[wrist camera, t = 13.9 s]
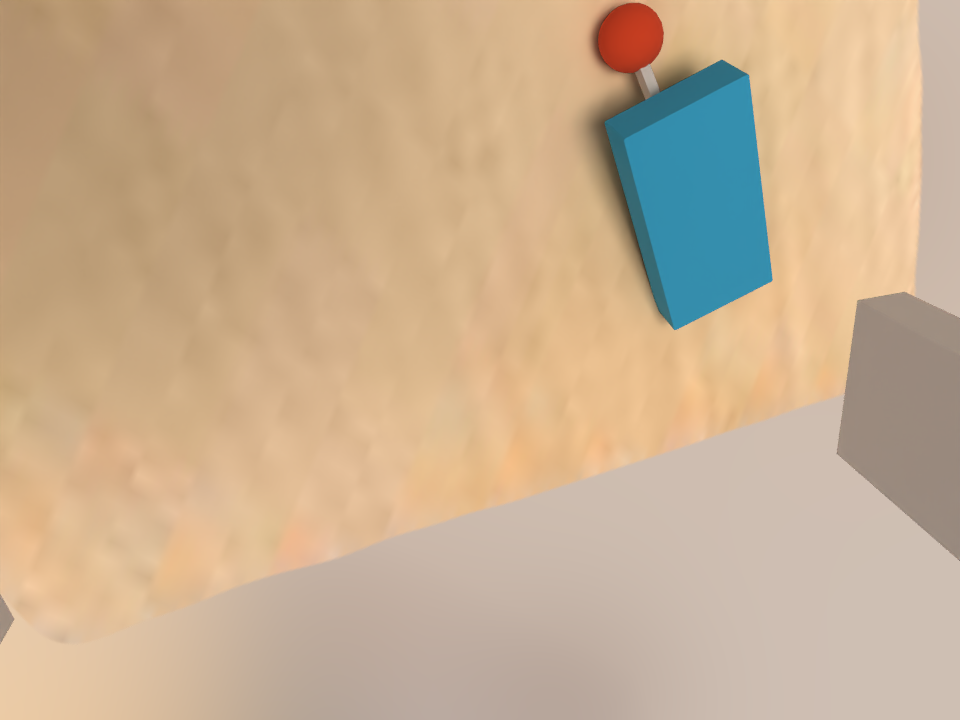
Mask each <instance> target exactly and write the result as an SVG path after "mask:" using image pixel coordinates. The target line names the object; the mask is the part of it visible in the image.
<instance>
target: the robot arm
mask: <svg viewBox="0 0 960 720" xmlns="http://www.w3.org/2000/svg"><path fill="white" fill-rule="evenodd" d="M837 454H838V455H839V456H840V457H841V458H842V459H843V460H845V461H846V462H847V463H848V464H849V465H850V466H852V467H853V468H854V469H855V470H856V471H857V472H858V473H859V474H861V475H862V476H863V477H864V478H865V479H867V480H868V481H869V482H870V483H871V484H872V485H873V486H874V487H876V488H877V489H878V490H879V491H880V492H881V493H882V494H884V495H885V496H886V497H887V498H888V499H889V500H891V501H892V502H893V503H894V504H895V505H896V506H897V507H899V508H900V509H901V510H902V511H903V512H904V513H905V514H907V515H908V516H909V517H910V518H911V519H912V520H913V521H915V522H916V523H917V524H918V525H919V526H920V527H921V528H923V529H924V530H925V531H926V532H927V533H928V534H930V535H931V536H932V537H933V538H934V539H935V540H936V541H938V542H939V543H940V544H941V545H942V546H943V547H944V548H946V549H947V550H948V551H949V552H950V553H951V554H953V555H954V556H955V557H956V558H957V559H958V560H959V561H960V318H958V317H957V316H955V315H952V314H950V313H948V312H946V311H944V310H942V309H940V308H937V307H935V306H933V305H931V304H929V303H927V302H925V301H923V300H921V299H919V298H916V297H914V296H912V295H910V294H908V293H906V292H902V293H896V294H891V295H885V296H879V297H874V298H868V299H863V300H858V301H857V308H856V316H855V323H854V330H853V338H852V345H851V352H850V360H849V367H848V374H847V382H846V389H845V397H844V404H843V411H842V419H841V426H840V433H839V441H838V448H837ZM13 621H14V618H13V616H12V614H11V612H10V611H9V609H8V607H7V605H6V603H5V602H4V600H3V598H2V596H1V595H0V643H1V642H2V640H3V638H4V636H5V635H6V633H7V631H8V630H9V628H10V626H11V624H12V622H13Z"/></svg>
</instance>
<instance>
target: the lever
mask: <svg viewBox="0 0 960 720" xmlns="http://www.w3.org/2000/svg"><path fill="white" fill-rule="evenodd" d="M663 35H664V32H663V27H662V22H661V21H660V19H659V17H658V15H657V14H656V12H654V11H653V10H652V9H651V8H650V7H648V6H646V5H644V4H641V3H628V4H625V5H622V6H619V7H617V8H616V9H614V10H613V11H612V12H611V13H609V15H608V16H607V17H606V19H605V20H604V22H603V24H602V26H601V28H600V31H599V36H598V45H599V50H600V54H601V56H602V57H603V59H604V61H605V62H606V64H608V65H609V66H610V67H611V68H612V69H614V70H616V71H619V72H623V73H634V72H635V74H636V77H637V79H638V82H639V84H640V87H641V90H642V92H643V95H644V97H645V100H644V101H642V102H641V103H639V104H637V105H635V106H633V107H631V108H629V109H627V110H625V111H624V112H622V113H620V114H618V115H616V116H614V117H612V118H610V119H608V120H606V121H605V127H606V130H607V134H608V137H609V141H610V145H611V148H612V152H613V155H614V159H615V162H616V166H617V169H618V173H619V176H620V180H621V183H622V187H623V190H624V194H625V197H626V201H627V204H628V208H629V212H630V215H631V219H632V222H633V226H634V229H635V233H636V236H637V240H638V243H639V247H640V250H641V254H642V257H643V261H644V264H645V268H646V272H647V275H648V279H649V282H650V286H651V289H652V293H653V296H654V299H655V302H656V304H657V307H658V310H659V312H660V313H661V314H662V315H663V317H664V318H665V319H666V320H667V321H668V323H669V324H670V325H671V326H672V328H673V329H674V330H677V329H679V328H681V327H683V326H685V325H687V324H689V323H691V322H692V321H694V320H696V319H698V318H700V317H702V316H704V315H706V314H708V313H710V312H712V311H714V310H716V309H718V308H720V307H722V306H724V305H726V304H728V303H730V302H732V301H734V300H736V299H738V298H740V297H742V296H744V295H746V294H748V293H750V292H752V291H754V290H756V289H758V288H760V287H762V286H763V285H765V284H767V283H769V282H771V281H772V271H771V263H770V254H769V245H768V236H767V228H766V219H765V210H764V202H763V193H762V184H761V176H760V167H759V158H758V150H757V141H756V132H755V124H754V115H753V106H752V97H751V89H750V80H749V75H748V74H746V73H744V72H743V71H741V70H739V69H738V68H736V67H734V66H732V65H731V64H729V63H727V62H725V61H724V60H720V61H718V62H716V63H714V64H713V65H711V66H709V67H707V68H705V69H703V70H701V71H699V72H697V73H696V74H694V75H692V76H690V77H688V78H686V79H684V80H682V81H680V82H678V83H677V84H675V85H673V86H671V87H669V88H667V89H665V90H663V91H661V92H660V89H659V86H658V84H657V81H656V79H655V76H654V74H653V71H652V68H651V66H650V64H651V63H652V62H653V61H654V59H655V58H656V57H657V56H658V54H659V52H660V50H661V47H662V44H663Z"/></svg>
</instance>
